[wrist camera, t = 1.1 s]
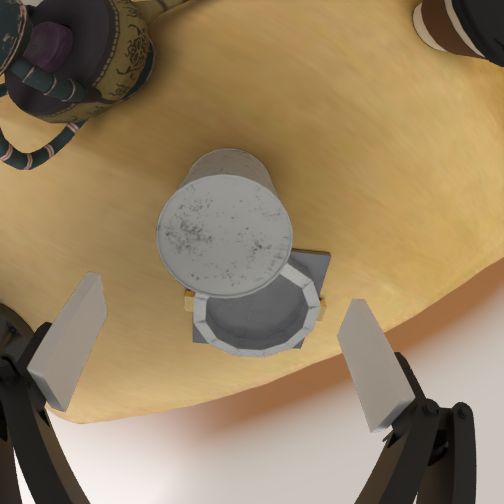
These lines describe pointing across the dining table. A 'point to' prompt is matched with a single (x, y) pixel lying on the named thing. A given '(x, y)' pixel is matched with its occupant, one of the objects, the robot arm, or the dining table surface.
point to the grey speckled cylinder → (225, 227)
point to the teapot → (73, 62)
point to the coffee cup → (463, 27)
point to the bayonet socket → (264, 310)
